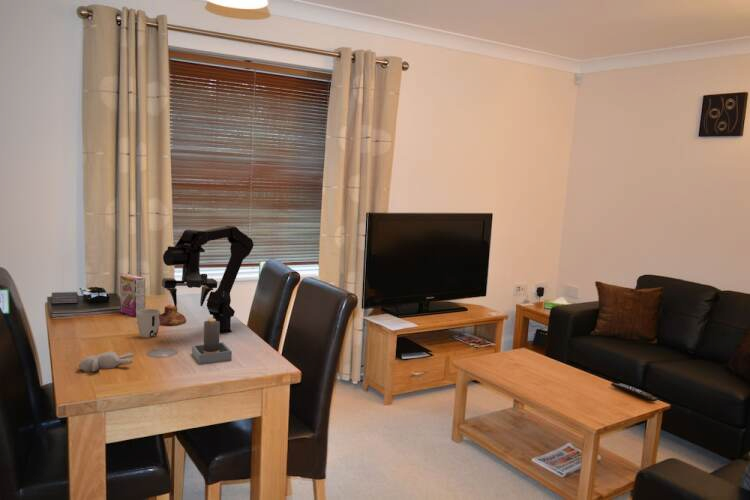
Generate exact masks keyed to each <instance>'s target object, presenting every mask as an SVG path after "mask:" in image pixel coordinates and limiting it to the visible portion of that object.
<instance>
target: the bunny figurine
mask: <svg viewBox="0 0 750 500" xmlns="http://www.w3.org/2000/svg"><path fill="white" fill-rule="evenodd" d="M133 357H134V353H133V352H128V353H125V354H121V355H118V354H117V353H116V352H115V351H114V350H109V351H104V352H102V353H100V354H96V355H92V354H91V355H87V356H86V357H85V358H84V359H83V360H80V362H79V364H78V369H79V370H81V371H84V372H85V373H91V372H97V371H99V370H100V369H115V368H116V367H118V366H119V365H130V364H131V363H132V358H133Z"/></svg>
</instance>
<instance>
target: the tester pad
mask: <svg viewBox="0 0 750 500" xmlns="http://www.w3.org/2000/svg"><path fill="white" fill-rule="evenodd" d="M178 353H179V352H178V350H177V349H175V348H169V347H163V348H161V347H159V348H155V349H151V350H148V351H147V352H146V353H145V355H146V356H148V357H149V358H155V359H163V358H164V359H165V358H170V357H174V356H177V354H178Z"/></svg>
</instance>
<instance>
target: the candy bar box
mask: <svg viewBox="0 0 750 500" xmlns="http://www.w3.org/2000/svg"><path fill="white" fill-rule="evenodd" d="M143 309H146V278H145V277H143V276H138V275H135V274H130V273H127V274H120V275H119V311H120V312H119V313H121V314H125V315H128V316H130V317H134V318H137V311H139V310H143Z"/></svg>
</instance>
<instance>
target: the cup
mask: <svg viewBox="0 0 750 500" xmlns="http://www.w3.org/2000/svg"><path fill="white" fill-rule="evenodd" d="M160 315H161V310H160V309H158V308H157V309H156V308H145V309H143V310H139V311H137V317H136V319H137V322H136V323H137V326H138V327H137V328H138V332H139V335H140V338H147V339H148V338H154V337H157V335H158V332H159V328H160V325H159V323H160Z"/></svg>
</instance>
